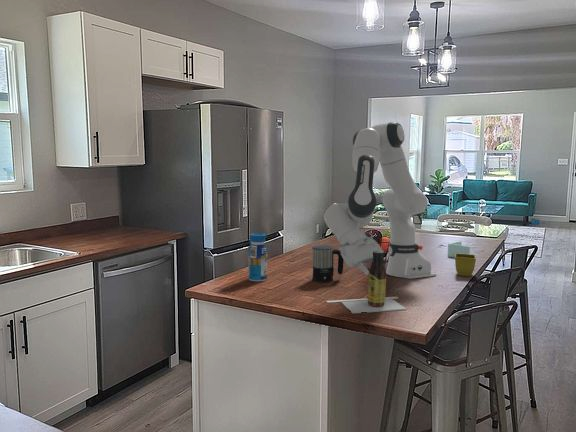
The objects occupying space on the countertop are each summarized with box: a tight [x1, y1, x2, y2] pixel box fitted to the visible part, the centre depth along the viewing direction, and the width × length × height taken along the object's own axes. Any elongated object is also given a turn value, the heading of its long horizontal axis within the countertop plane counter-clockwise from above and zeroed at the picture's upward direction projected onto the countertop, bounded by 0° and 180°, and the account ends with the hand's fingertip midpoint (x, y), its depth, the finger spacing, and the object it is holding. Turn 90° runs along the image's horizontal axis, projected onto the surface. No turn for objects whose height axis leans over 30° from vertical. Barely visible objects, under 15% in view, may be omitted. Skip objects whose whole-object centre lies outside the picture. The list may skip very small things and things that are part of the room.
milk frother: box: [311, 244, 345, 284], centre depth 219 cm, size 14×16×15 cm
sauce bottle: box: [367, 250, 387, 307], centre depth 178 cm, size 7×6×20 cm
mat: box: [341, 299, 407, 314], centre depth 179 cm, size 20×12×1 cm, turn 102°
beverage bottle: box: [247, 232, 268, 282], centre depth 215 cm, size 8×8×20 cm
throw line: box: [326, 296, 399, 304], centre depth 186 cm, size 28×2×1 cm, turn 102°
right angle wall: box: [447, 240, 471, 259], centre depth 266 cm, size 12×12×8 cm
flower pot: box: [454, 253, 477, 277], centre depth 225 cm, size 9×9×9 cm
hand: (375, 271), depth 178 cm, fingers open, 8 cm apart
